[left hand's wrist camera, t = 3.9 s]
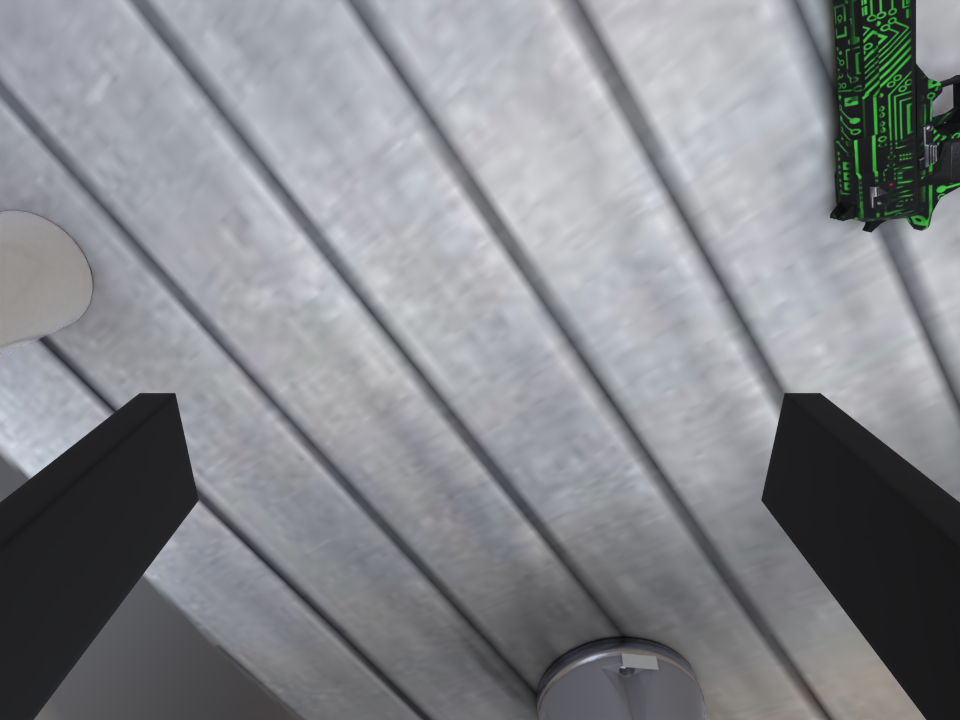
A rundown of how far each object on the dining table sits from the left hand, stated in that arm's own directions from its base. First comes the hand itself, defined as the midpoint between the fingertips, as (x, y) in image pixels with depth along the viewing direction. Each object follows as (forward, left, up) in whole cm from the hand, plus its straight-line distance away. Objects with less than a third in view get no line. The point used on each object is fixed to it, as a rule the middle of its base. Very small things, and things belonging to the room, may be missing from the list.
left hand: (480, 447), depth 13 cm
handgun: (-8, +28, -28) cm, 40 cm away
